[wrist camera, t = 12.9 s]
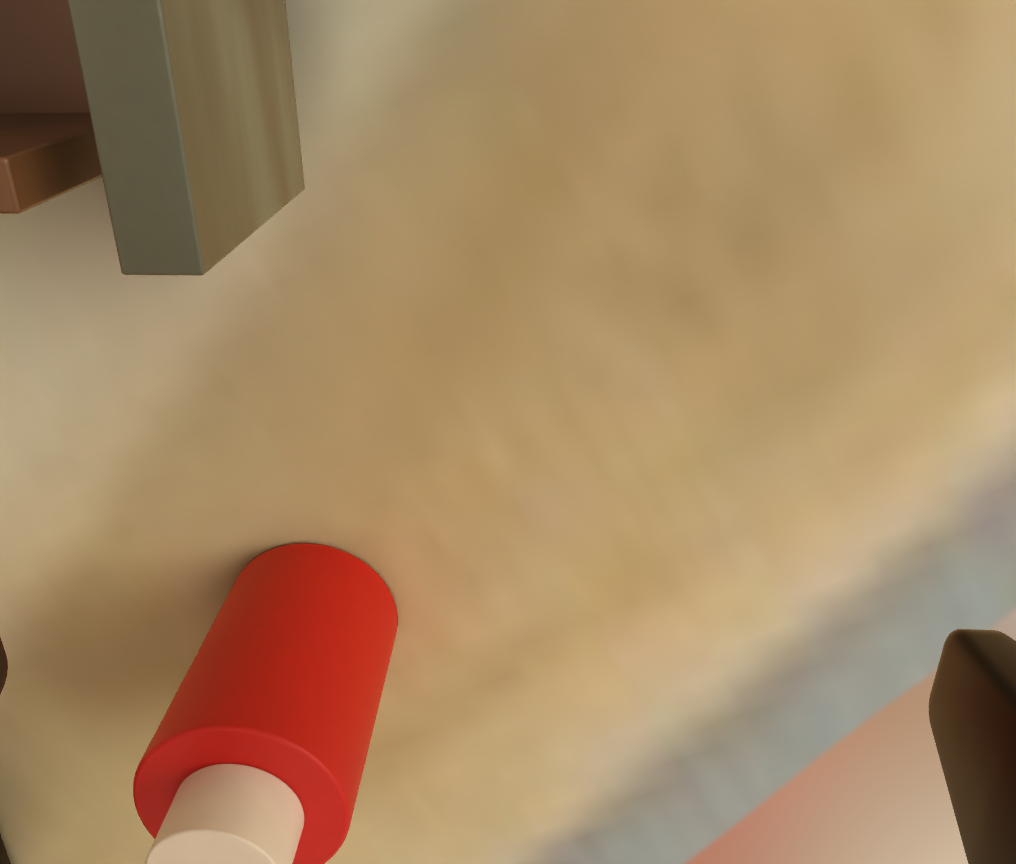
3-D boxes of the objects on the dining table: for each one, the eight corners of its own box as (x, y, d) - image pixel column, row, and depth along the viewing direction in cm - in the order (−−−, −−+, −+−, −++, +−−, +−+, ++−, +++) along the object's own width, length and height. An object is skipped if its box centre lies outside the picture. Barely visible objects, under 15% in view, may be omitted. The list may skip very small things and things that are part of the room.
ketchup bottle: (393, 543, 23) (320, 799, 16) (402, 679, 25) (341, 960, 18) (220, 539, 23) (72, 791, 16) (244, 674, 25) (120, 951, 18)
